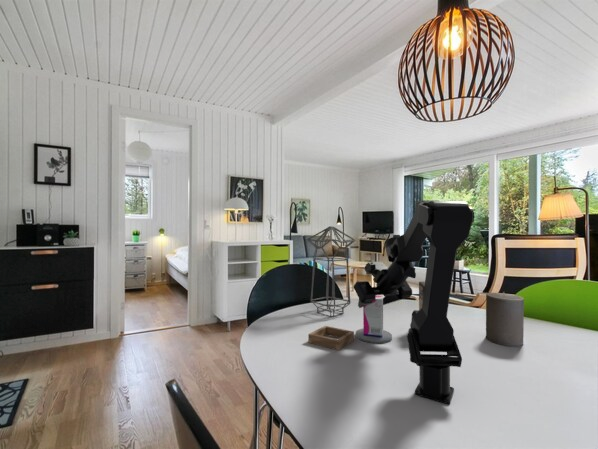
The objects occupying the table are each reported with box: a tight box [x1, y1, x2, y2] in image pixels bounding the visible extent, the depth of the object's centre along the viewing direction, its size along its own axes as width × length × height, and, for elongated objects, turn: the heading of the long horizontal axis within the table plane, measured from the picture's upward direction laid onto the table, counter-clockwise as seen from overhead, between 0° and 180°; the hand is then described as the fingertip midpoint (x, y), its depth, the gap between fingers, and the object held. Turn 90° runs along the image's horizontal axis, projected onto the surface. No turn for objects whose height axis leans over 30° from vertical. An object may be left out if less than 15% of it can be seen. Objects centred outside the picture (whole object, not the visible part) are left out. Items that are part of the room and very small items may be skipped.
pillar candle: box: [485, 291, 525, 348], centre depth 93 cm, size 10×10×15 cm
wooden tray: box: [307, 325, 355, 351], centre depth 91 cm, size 10×10×2 cm
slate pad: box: [355, 328, 393, 344], centre depth 95 cm, size 11×11×1 cm
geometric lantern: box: [306, 226, 357, 318], centre depth 123 cm, size 16×16×35 cm
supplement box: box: [362, 295, 384, 337], centre depth 95 cm, size 6×6×12 cm
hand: (370, 305), depth 97 cm, fingers open, 9 cm apart
